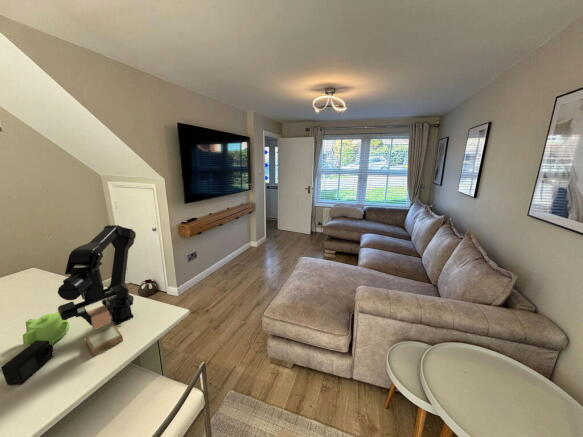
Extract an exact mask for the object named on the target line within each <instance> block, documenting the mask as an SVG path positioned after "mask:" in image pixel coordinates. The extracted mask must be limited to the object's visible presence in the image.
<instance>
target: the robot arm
mask: <svg viewBox="0 0 583 437" xmlns="http://www.w3.org/2000/svg"><path fill="white" fill-rule="evenodd" d="M136 237H137V233H136V231H134V230H133V229H132V228H128V227H123V226H121V225H119V224H114V225H113V224H109V225H105V226H104V227H103V230H101V231H100V232H99V233H98V234H97V235H95V237H94V238H93V239H92V240H91V241H89V242H88V243H86V244H85V243H84V244H83V245H80V246H78V247H76V248H74V249H73V250H72V251H71V252H70V253H69V256H68V259H67V263H66V268H65V272H64V274H65V275H70V276H68V277H66V278H65V279H63V280H62V283H63V284H61V285H60V286H59V287H58V289H57V294H58V297H60V298H61V299H63V300H64V301H70V302H67V303H65V304H61V305H59V306H58V307H57V312H59V315H60V317H61V319H62V320H68V319H72V318H74V317H76V318H82V319H84V320H85V321H86V322H87V324H88V325H89V326H91V325H92V322H91V319H90V317H89V315H88V313H87V312H88V311H87V309H86V307H89V306H91V305H95V304H97V303H99V302H101V304H102V306H103V305H105V307H106V308H107V309H108V310H109V314H110V319H111V323H114V325H119V324H121V323H124V322H126V321H128V320H130V319H133V318H134V314H133V313H132V312H133V311H132V307H131V306H133V305H134V299H135V298H134V296H133V295H131V294H129V291H130V290H129V288H128V286H127V285H126V275H127V266H128V259H129V250H130V248H131V247H133V245H134V243H135V239H136ZM110 244H111V245H112V247H113V249H114V254H113V261H112V269H111V276H110V278H111V279H110V283H109V286H108V287H106V288H104V282H103V279H102V273H101V270H100V266H102V265H103V262H101V260H102V258H103V257H104V254H103V252H104V250H105V249H106V248H107V247H108V246H109V245H110ZM79 297H81V299H82V300H84V301H81V302H78V303H75V302H74V300H77V299H78V298H79Z"/></svg>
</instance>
